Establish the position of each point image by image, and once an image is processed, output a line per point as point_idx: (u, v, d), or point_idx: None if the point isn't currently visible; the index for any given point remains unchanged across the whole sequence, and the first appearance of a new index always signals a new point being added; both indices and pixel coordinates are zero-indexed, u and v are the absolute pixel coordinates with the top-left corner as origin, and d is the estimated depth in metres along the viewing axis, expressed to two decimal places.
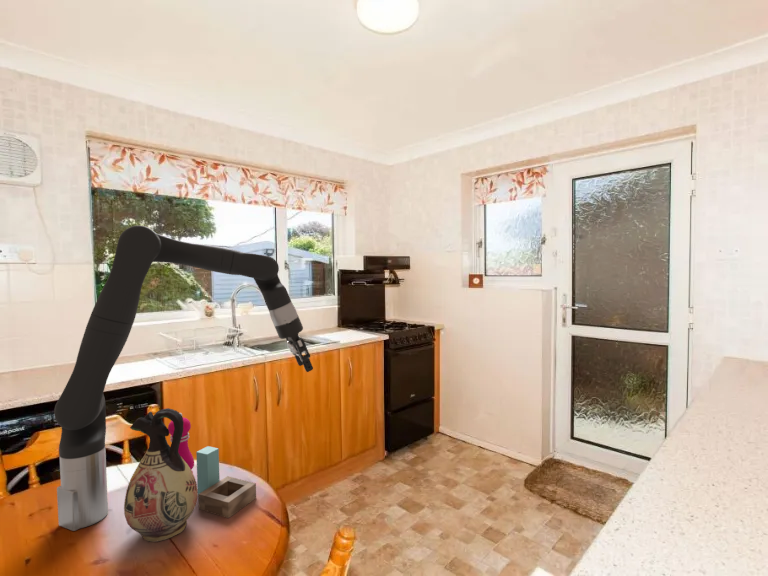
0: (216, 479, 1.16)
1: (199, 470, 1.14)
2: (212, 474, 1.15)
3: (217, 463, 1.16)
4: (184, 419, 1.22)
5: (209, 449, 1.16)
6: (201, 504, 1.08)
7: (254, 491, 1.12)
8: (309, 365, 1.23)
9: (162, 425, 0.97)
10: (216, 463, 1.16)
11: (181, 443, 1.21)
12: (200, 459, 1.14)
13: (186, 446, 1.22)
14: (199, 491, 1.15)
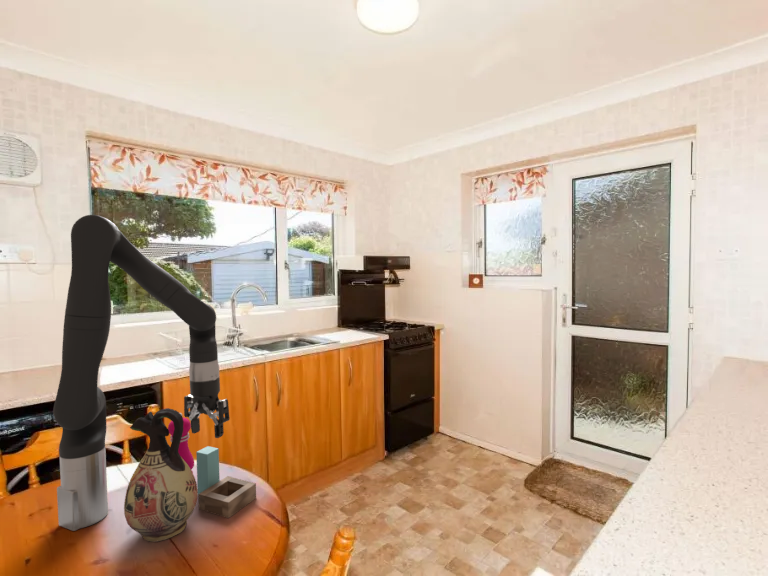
0: (216, 479, 1.16)
1: (199, 470, 1.14)
2: (212, 474, 1.15)
3: (217, 463, 1.16)
4: (184, 419, 1.22)
5: (209, 449, 1.16)
6: (201, 504, 1.08)
7: (254, 491, 1.12)
8: (222, 430, 1.13)
9: (162, 425, 0.97)
10: (216, 463, 1.16)
11: (181, 443, 1.21)
12: (200, 459, 1.14)
13: (186, 446, 1.22)
14: (199, 491, 1.15)
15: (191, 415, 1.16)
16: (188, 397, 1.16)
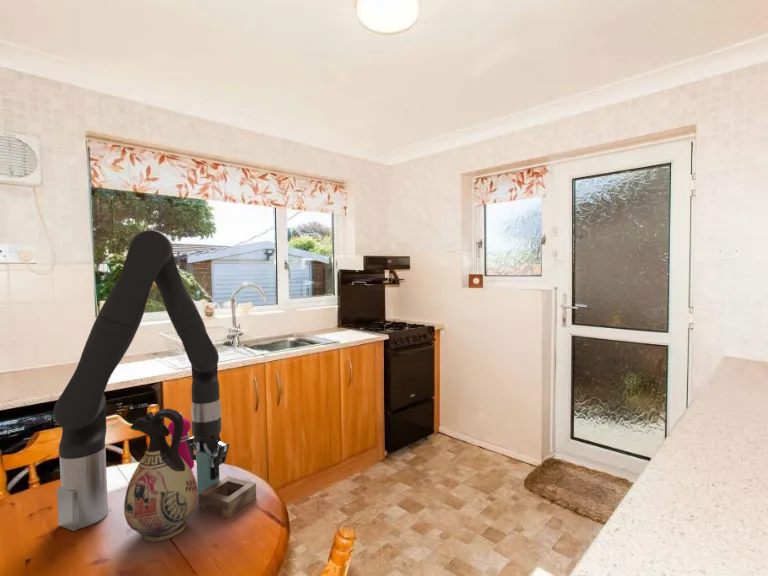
0: (216, 479, 1.16)
1: (199, 470, 1.14)
2: None
3: None
4: (184, 419, 1.22)
5: None
6: (201, 504, 1.08)
7: (254, 491, 1.12)
8: (217, 472, 1.15)
9: (162, 425, 0.97)
10: None
11: (181, 443, 1.21)
12: (200, 459, 1.14)
13: (186, 446, 1.22)
14: (199, 491, 1.15)
15: None
16: (190, 439, 1.17)
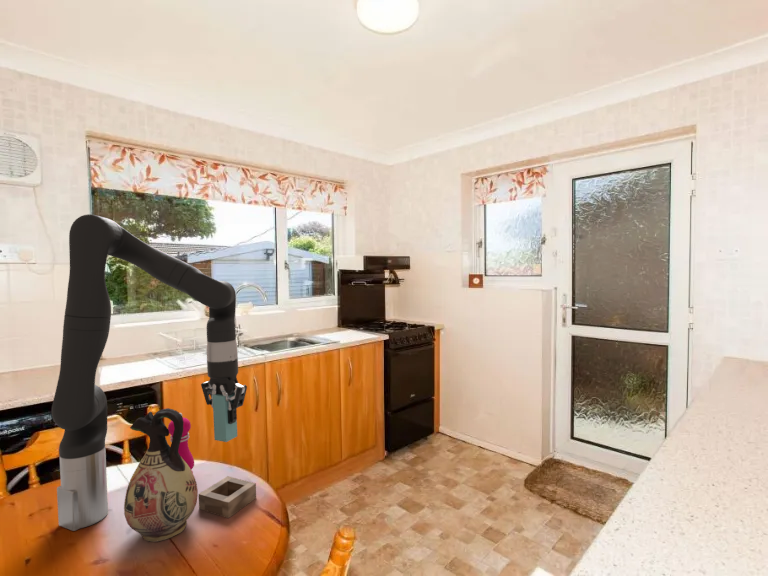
0: (233, 424, 1.10)
1: (216, 414, 1.09)
2: None
3: None
4: (184, 419, 1.22)
5: None
6: (201, 504, 1.08)
7: (254, 491, 1.12)
8: (235, 416, 1.09)
9: (162, 425, 0.97)
10: None
11: (181, 443, 1.21)
12: (217, 402, 1.08)
13: (186, 446, 1.22)
14: (216, 436, 1.09)
15: None
16: (205, 383, 1.11)
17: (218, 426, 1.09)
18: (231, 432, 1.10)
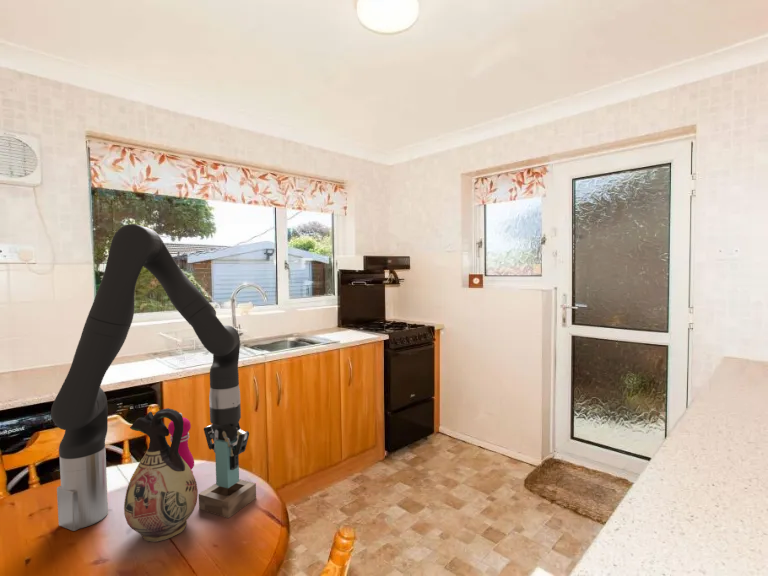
0: (235, 469, 1.10)
1: (218, 459, 1.09)
2: None
3: None
4: (184, 419, 1.22)
5: None
6: (201, 504, 1.08)
7: (254, 491, 1.12)
8: (237, 462, 1.09)
9: (162, 425, 0.97)
10: None
11: (181, 443, 1.21)
12: (219, 448, 1.08)
13: (186, 446, 1.22)
14: (218, 482, 1.09)
15: None
16: (207, 427, 1.11)
17: (220, 472, 1.09)
18: (233, 478, 1.09)
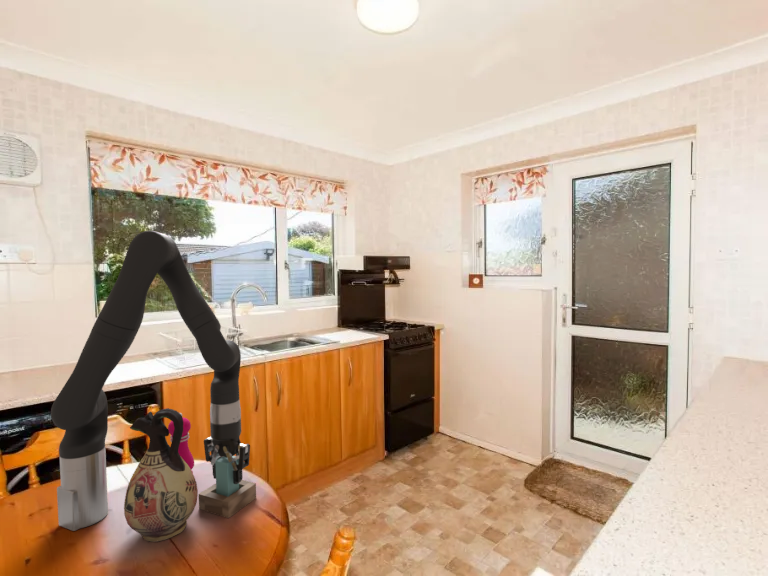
0: (236, 490, 1.10)
1: (218, 480, 1.09)
2: (232, 484, 1.09)
3: None
4: (184, 419, 1.22)
5: None
6: (201, 504, 1.08)
7: (254, 491, 1.12)
8: (241, 476, 1.09)
9: (162, 425, 0.97)
10: None
11: (181, 443, 1.21)
12: (219, 468, 1.09)
13: (186, 446, 1.22)
14: None
15: (213, 460, 1.10)
16: (208, 440, 1.11)
17: (220, 492, 1.09)
18: None
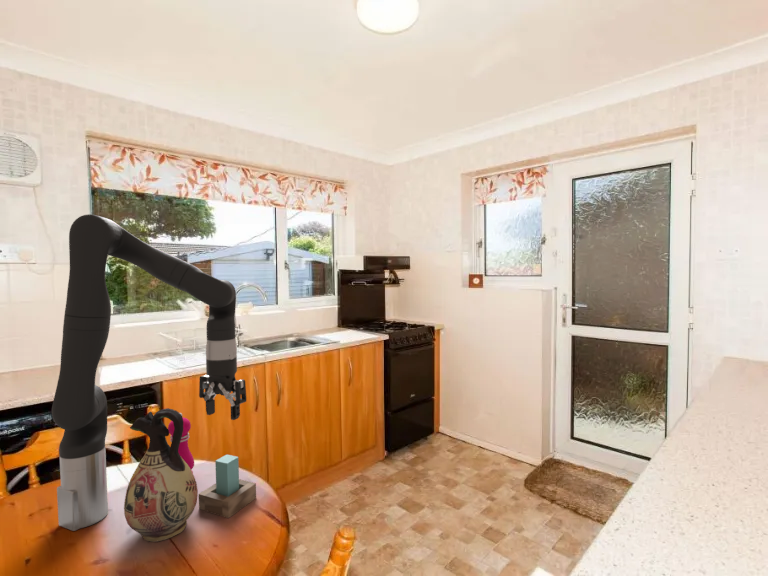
0: (236, 490, 1.10)
1: (218, 480, 1.09)
2: (232, 484, 1.09)
3: (237, 472, 1.11)
4: (184, 419, 1.22)
5: (228, 458, 1.10)
6: (201, 504, 1.08)
7: (254, 491, 1.12)
8: (238, 412, 1.09)
9: (162, 425, 0.97)
10: (236, 472, 1.10)
11: (181, 443, 1.21)
12: (219, 468, 1.09)
13: (186, 446, 1.22)
14: None
15: (206, 396, 1.11)
16: (204, 377, 1.12)
17: (220, 492, 1.09)
18: None
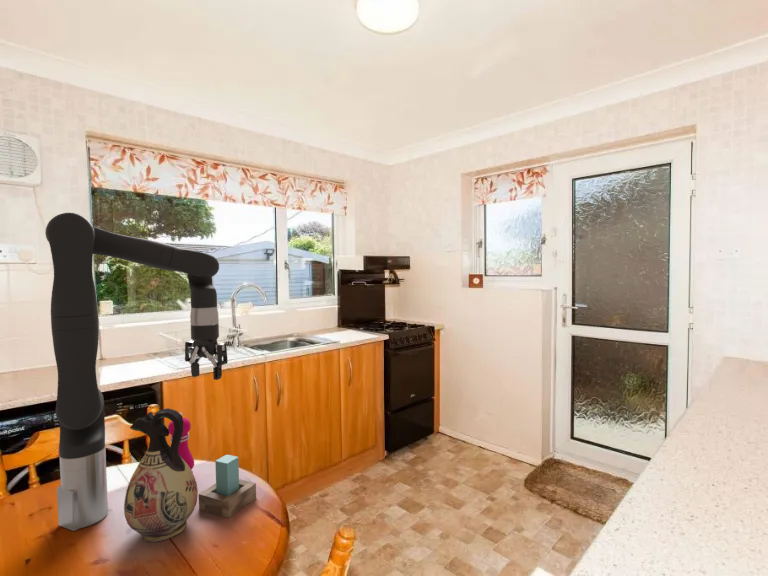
0: (236, 490, 1.10)
1: (218, 480, 1.09)
2: (232, 484, 1.09)
3: (237, 472, 1.11)
4: (184, 419, 1.22)
5: (228, 458, 1.10)
6: (201, 504, 1.08)
7: (254, 491, 1.12)
8: (220, 373, 1.20)
9: (162, 425, 0.97)
10: (236, 472, 1.10)
11: (181, 443, 1.21)
12: (219, 468, 1.09)
13: (186, 446, 1.22)
14: None
15: (191, 359, 1.23)
16: (189, 343, 1.24)
17: (220, 492, 1.09)
18: None
